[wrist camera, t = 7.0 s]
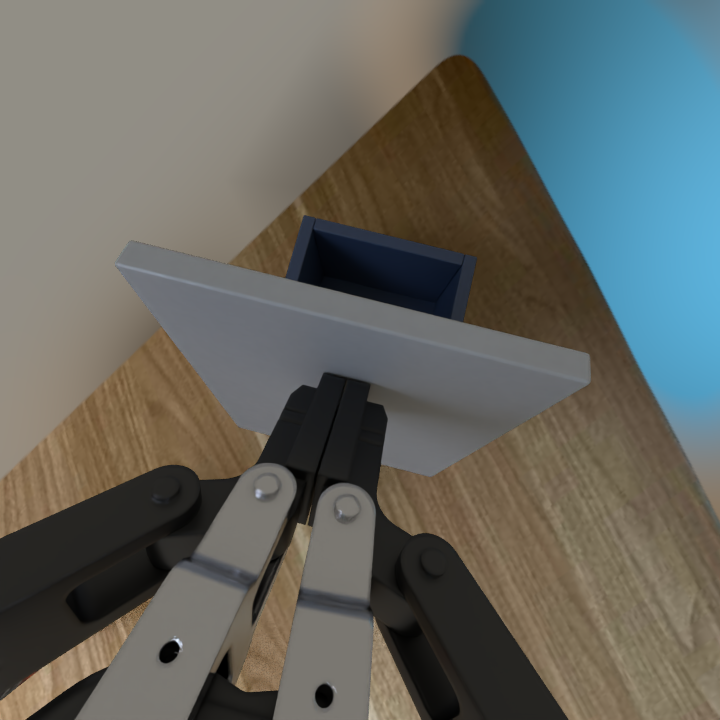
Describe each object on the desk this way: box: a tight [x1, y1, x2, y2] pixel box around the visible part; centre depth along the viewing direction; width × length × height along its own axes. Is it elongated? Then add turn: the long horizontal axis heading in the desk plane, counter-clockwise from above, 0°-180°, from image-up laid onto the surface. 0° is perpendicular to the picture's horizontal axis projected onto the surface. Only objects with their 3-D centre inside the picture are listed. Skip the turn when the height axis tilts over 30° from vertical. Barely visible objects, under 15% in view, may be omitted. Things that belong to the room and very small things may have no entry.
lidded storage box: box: [286, 215, 477, 322], centre depth 27 cm, size 13×11×9 cm
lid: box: [115, 241, 591, 477], centre depth 15 cm, size 14×11×1 cm
